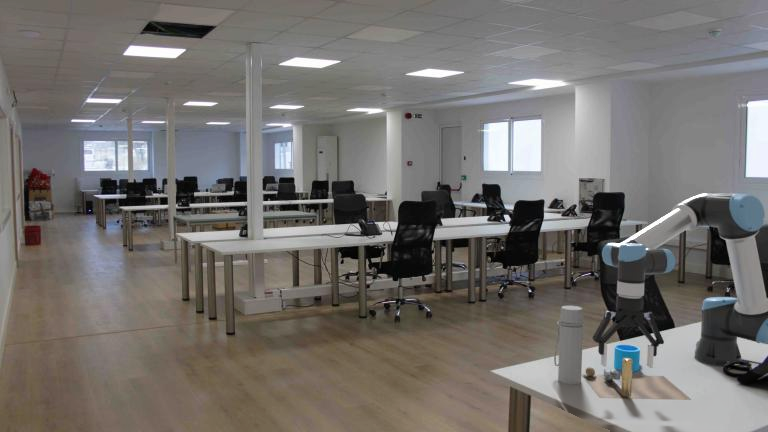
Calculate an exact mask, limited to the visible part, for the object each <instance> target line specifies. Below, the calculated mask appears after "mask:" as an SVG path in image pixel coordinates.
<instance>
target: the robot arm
mask: <svg viewBox="0 0 768 432" xmlns="http://www.w3.org/2000/svg"><path fill="white" fill-rule="evenodd" d="M765 216H766V214H765V208H764V206H763V204H762V202H761V200H760V199H759V198H758V197H756V196H754V195H753V194H746V193H742V192H740V193H739V192H738V193H735V192H734V193H730V192H713V191H710V192H703V193H700V194H696V195H694V196H691V197H689V198H687V199H685V200H683V201H681V202H679V203H677V204H675V205H674V206H673V207H672V209H671V212H669V213H667V214H665V215H664V216H662V217H661V218H659V219H657V220H656V221H654V222H652V223H651V224H649V225H648V226H646V227H644V228H643V229H640V230H639V231H638V232H636V233H634V234H633V235H631V236H629V237H628V238H626V239H624V240H622V241H621V242H619V243H617V242H608V243H606V244H605V245H604V247H602V251H601V257H602V261H603V262H604V264H605V265H607V266H612V267H614V268H617V279H616V280H617V284H616V294H617V296H616V302H615V303H616V304H615V311H609V309H607V310H604V314H603V318H602V320H601V322H600V323H599V325H598V326H597V327H598V328H597V329H596V330H595V333H594V334H593V336H592V340H593V341H594V342H595V343H598V349H597V350H598V354H599V355H600V356H601V358H600V359H601V360H600V364H601V365H602V367H607V360H608V359H607V355H608V345H607V342H608V341H609V340H610V339H611V337H612V336H613V335H615V333H616V332H617V331H618V330H619V329H621V328H622V327H624V328H636V327H637V328H638V329H639V330H640V331H641V333H642V334H643V335H644V336H645V338H646V339H647V340H648V342H649V343H647V354H646V355H647V356H646V366H647V367H648V368H650V369H653V368H654V357H657V355H658V354H657V353H658V352H657V351H658V347H660V346H659V345H664V343H665V341H664V339H663V336H662V334H661V332H660V330H659V328H658V326H657V323H656V321H655V314H654V313H653V312H652V311H647V312H644V296H645V280H646V279H645V277H646V275H648V276H649V275H664V274H666V273H670V272H671V271H673V269H674V268H675V266H676V257H675V254H674V253H673V252H672V251H671V250H670V249H667V248H661V247H660V246H663V245H664V244H666V243H667V242H669V241H670V240H672V239H673V238H675V237H677V236H679V235H680V234H681V233H683V232H685V231H692V230H694V229H695V228H699V227H710V228H711V227H712V228H717V231H718V235H719V237H720V238H721V239H723V240H725V243H726V249H727V254H728V257H729V258H728V259H729V263H730V269H731V273H732V278H733V284H734V289H735V294H736V297H731V296H713V297H707V298H705V299H704V300H703V301H702V305H701V306H702V308H701V322H700V323H701V325H700V326H701V328H700V338H699V341H698V343H697V345H696V348H695V350H694V359H695V360H697V361H698V362H701V363H705V364H707V365H712V366H719V367H725V366H724V365H725V364H726V362H727V361H733V360H741V361H742V354H741V351H740V348H739V345H738V338H740V339H743V340H747V341H750V342H751V341H752V342H755V343H757V344H764V345H768V297H767V291H766V288H765V287H766V286H765V283H764V277H763V273H762V268H761V267H762V265H761V261H760V256H759V252H758V247H757V241H756V237H755V236H756V235H757V234H758V233H760V229H761V228H762V226H763V225H764V222H765V220H764V219H765ZM613 318H615V320H614V321H613V323H612V324H611V326H610V327H609V328H607V327H608V325H609V324H610V322H611V320H612V319H613ZM644 319H646V320H647V322H648V325H649V327H650V328H651V331H652V333H653V335H654V337H655V338H654V337H653V335H652V334H651V333H650V332H649V331H648V330H647V328H646V327H645V325H644V324H643V323H642V321H643V320H644ZM606 329H607V330H606ZM605 330H606V331H605Z"/></svg>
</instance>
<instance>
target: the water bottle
mask: <svg viewBox="0 0 768 432" xmlns="http://www.w3.org/2000/svg"><path fill="white" fill-rule="evenodd" d="M583 311H584V310H583V308H582V307H581V306H576V305H563V306H561V307H560V314H559V320H557V322H556V323H557V325H558V328H557V329H558V330H557V335H556V344H555V350H554V357H553V358H554V359H553V360H554V361H553V362H554V363H553V364H554V366H555V367H558V369H557V370H558V373H557V380H558V381H559V382H561V383H562V384H566V385H577V384H578V385H579V384H580V383H581V382H582V375H581V374H582V368H583V367H582V364H583V363H582V362H583V339H584V338H583V334H584V332H583V331H584V326H583V325H584V313H583ZM557 349H558V351H557ZM557 352H558V363H557V358H556V357H557Z"/></svg>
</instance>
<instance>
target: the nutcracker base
mask: <svg viewBox="0 0 768 432" xmlns="http://www.w3.org/2000/svg"><path fill="white" fill-rule="evenodd" d="M581 377H582V378H584V381H586V383H587V384H588V385H589V387H590V388H592V390H593V392H595V394H596V395H597V397H599V398H601V399H641V400H642V399H647V400H683V401H684V400H688V401H690V400H691V397H689V396H688V395H687V394H685V392H683V391H682V390H681V389H680V388H679V387H677V386H676V385H675V384H674V383H673V382H671V380H669V379H668V378H667V377H666V376H665V375H636V374H635V375H633V374H632V388H631V397H625V396H622V395H621V394H620V392H619V391H618V390H617V389H616V388H615V387H614V386H613V385H612V384H611V383H609V382H606V381H605V377H604V374H596V370H595V369H594V367H592V366H589V367H587V368H585V374H582V373H581ZM620 381H621V382H622V374H620Z"/></svg>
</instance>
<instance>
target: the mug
mask: <svg viewBox="0 0 768 432" xmlns="http://www.w3.org/2000/svg"><path fill="white" fill-rule="evenodd" d="M640 353H641V348H640V347H638V346H635V345H631V344H616V345H614V354H613V356H614V357H613V359H614V360H613V367H614V368H615V369H616V370H619V371H622V363H623V358H630V359H632V360H633V364H632V373H633V372H637V371H639V370H640V360H641V359H640V357H641V355H640Z"/></svg>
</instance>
